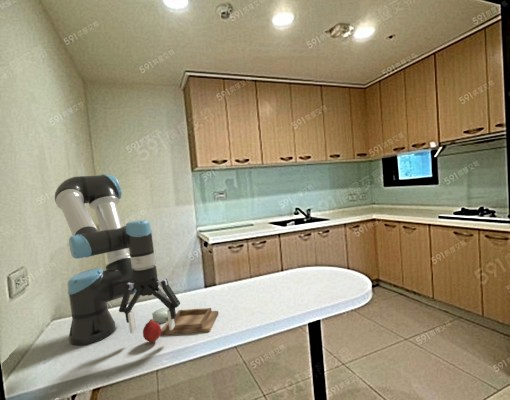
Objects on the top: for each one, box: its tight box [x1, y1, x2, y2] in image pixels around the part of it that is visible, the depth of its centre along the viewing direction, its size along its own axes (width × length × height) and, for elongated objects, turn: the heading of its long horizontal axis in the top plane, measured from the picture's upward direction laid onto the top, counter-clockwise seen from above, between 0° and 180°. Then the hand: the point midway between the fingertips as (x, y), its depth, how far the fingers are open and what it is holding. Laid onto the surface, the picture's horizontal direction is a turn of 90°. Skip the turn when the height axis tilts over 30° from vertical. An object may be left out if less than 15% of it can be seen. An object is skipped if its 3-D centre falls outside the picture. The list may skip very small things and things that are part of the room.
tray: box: [161, 307, 219, 335], centre depth 113 cm, size 18×14×3 cm
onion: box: [142, 318, 162, 344], centre depth 102 cm, size 6×6×8 cm
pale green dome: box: [152, 307, 169, 325], centre depth 119 cm, size 7×7×3 cm
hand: (152, 329), depth 101 cm, fingers open, 13 cm apart
